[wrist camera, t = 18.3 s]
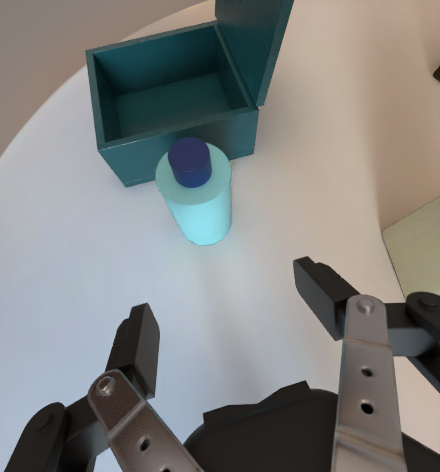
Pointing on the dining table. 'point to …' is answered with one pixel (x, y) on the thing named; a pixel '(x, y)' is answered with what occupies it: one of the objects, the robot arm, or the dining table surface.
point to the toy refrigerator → (416, 249)
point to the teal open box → (168, 99)
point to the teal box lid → (254, 38)
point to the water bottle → (197, 189)
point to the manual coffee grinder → (437, 73)
